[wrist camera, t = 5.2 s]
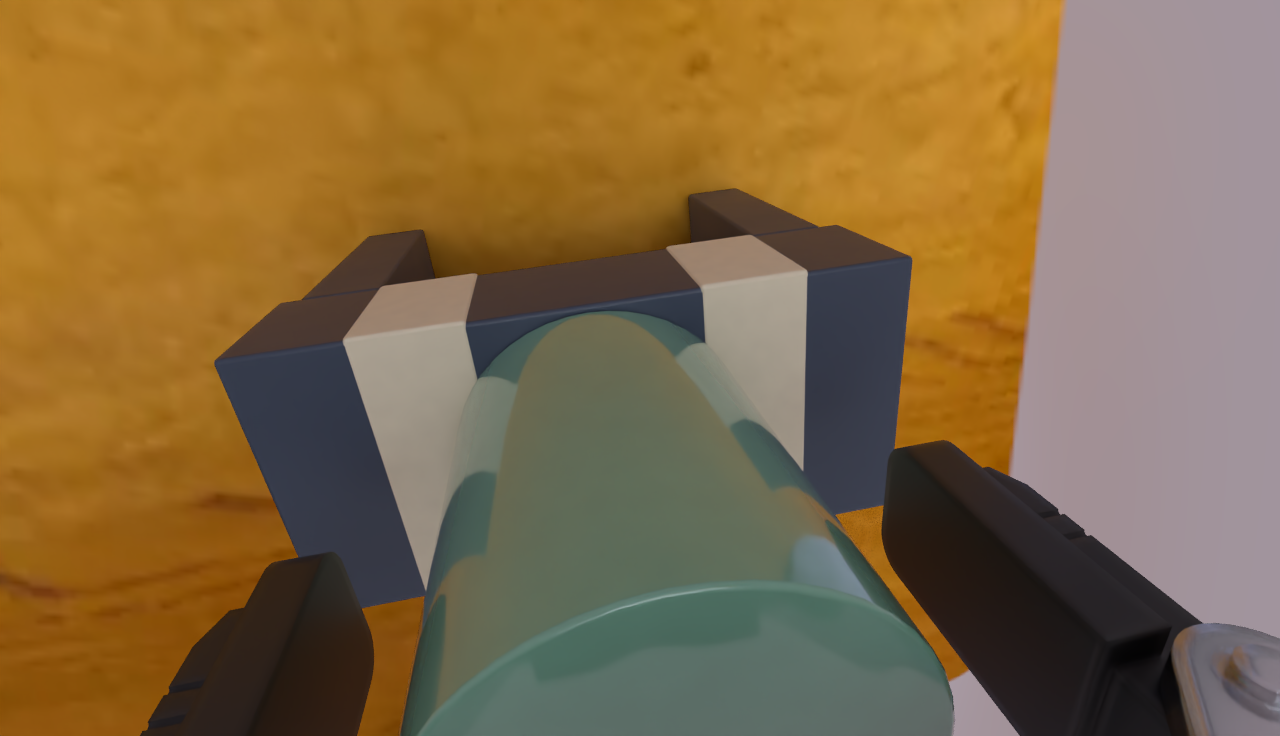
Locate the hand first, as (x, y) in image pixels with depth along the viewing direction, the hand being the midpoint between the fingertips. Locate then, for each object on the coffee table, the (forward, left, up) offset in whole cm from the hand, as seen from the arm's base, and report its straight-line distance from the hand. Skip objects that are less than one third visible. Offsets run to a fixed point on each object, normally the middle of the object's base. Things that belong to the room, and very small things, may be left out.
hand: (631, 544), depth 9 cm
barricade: (0, 0, -12) cm, 12 cm away
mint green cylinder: (0, 0, -3) cm, 3 cm away
